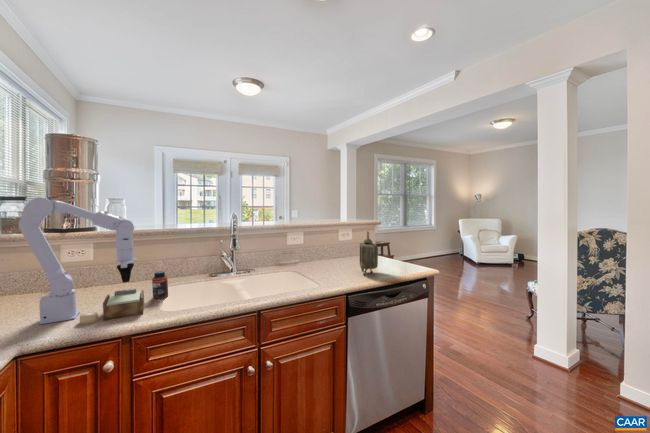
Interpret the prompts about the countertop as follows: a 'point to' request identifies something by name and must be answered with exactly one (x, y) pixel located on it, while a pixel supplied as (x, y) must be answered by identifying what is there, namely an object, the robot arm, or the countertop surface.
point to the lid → (124, 297)
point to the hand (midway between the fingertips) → (126, 281)
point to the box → (123, 308)
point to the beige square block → (88, 318)
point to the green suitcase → (368, 255)
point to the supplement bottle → (160, 285)
